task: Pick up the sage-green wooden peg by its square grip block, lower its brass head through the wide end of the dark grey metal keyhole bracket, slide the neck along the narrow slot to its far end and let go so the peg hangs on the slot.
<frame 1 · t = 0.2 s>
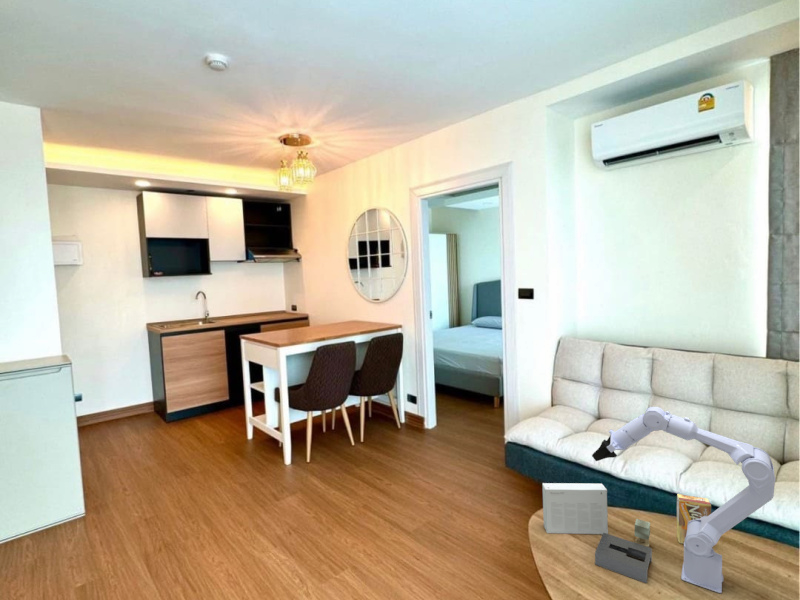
hand: (597, 454, 139), 31 cm above the table, tool tilted 45°, fingers open, 7 cm apart
skincare box: (574, 530, 149), on the table
keyhole bracket: (623, 562, 132), on the table
peg: (642, 544, 140), on the table
candy box: (693, 543, 140), on the table
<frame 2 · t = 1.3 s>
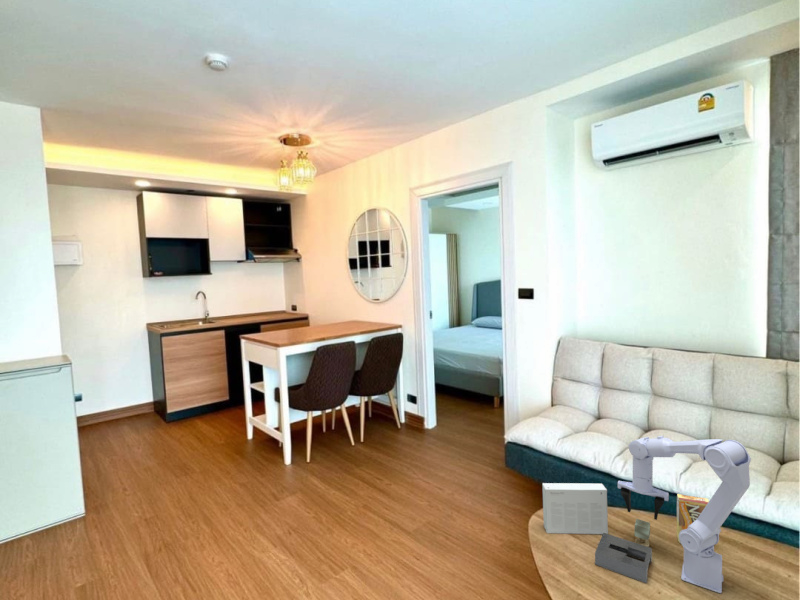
hand: (642, 514, 139), 10 cm above the table, tool pointing down, fingers open, 7 cm apart
nothing on the table moved.
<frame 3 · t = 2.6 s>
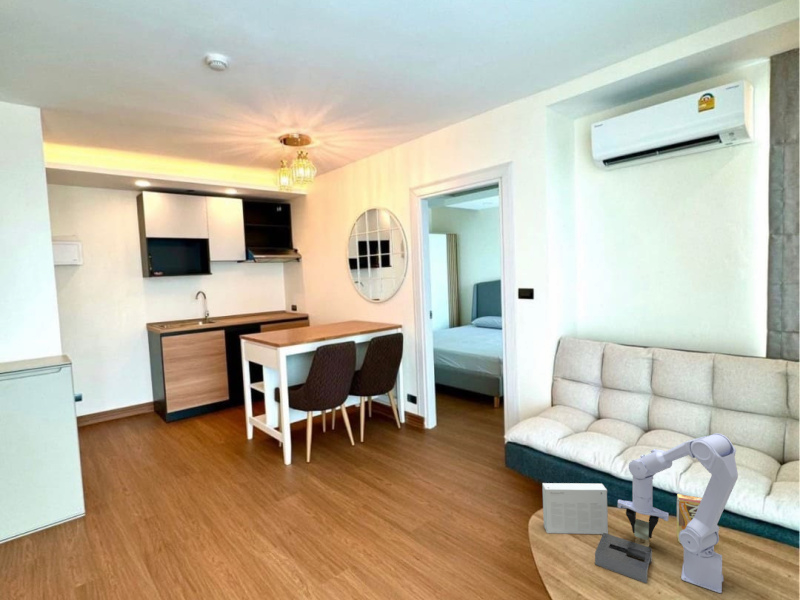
hand: (642, 533, 140), 4 cm above the table, tool pointing down, fingers closed on peg, 4 cm apart
peg: (642, 544, 140), on the table, touching gripper
everything else where it was.
when the fingers open (5 cm above the table, at t = 8.3 s): peg stays where it is, resting on keyhole bracket.
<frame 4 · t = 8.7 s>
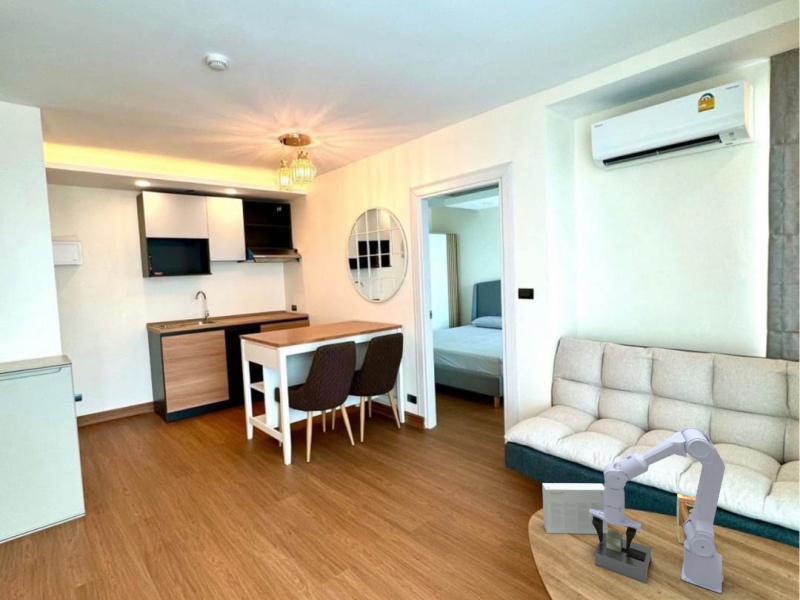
hand: (614, 545, 133), 5 cm above the table, tool pointing down, fingers open, 7 cm apart
peg: (614, 556, 133), point 1 cm above the table, touching keyhole bracket
everything else where it was.
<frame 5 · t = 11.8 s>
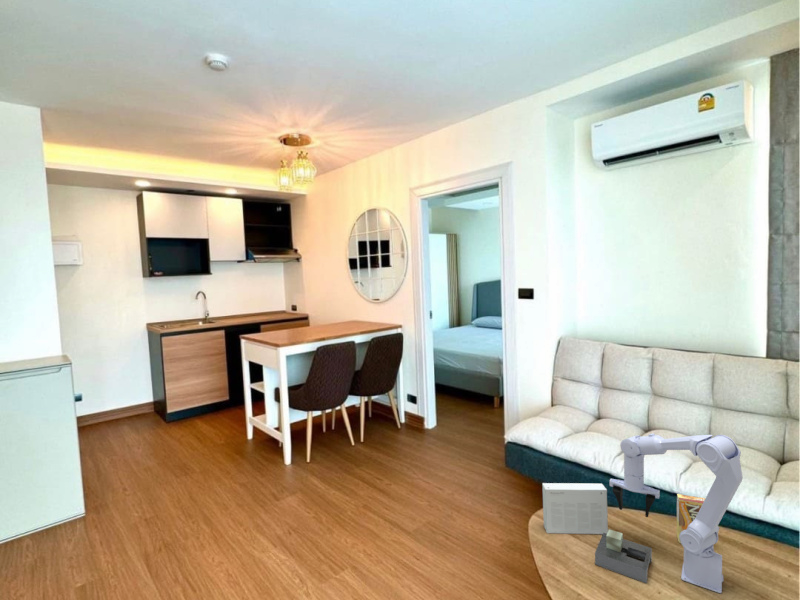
hand: (633, 511, 141), 10 cm above the table, tool pointing down, fingers open, 7 cm apart
nothing on the table moved.
at the end: peg 0.4 cm from the target spot on the keyhole bracket, point 0.8 cm above the keyhole bracket's base; the gripper is holding nothing; peg tilted 0° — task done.
